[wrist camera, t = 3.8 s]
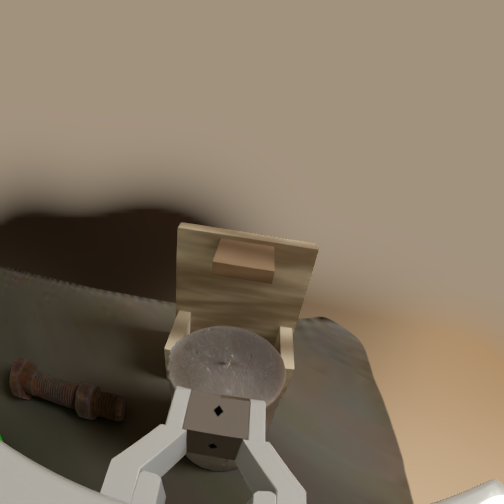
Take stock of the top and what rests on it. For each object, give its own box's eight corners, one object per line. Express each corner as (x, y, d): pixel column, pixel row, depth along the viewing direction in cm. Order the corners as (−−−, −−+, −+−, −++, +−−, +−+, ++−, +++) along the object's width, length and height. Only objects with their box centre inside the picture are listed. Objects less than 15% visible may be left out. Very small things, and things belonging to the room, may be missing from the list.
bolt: (127, 428, 28) (27, 397, 26) (131, 390, 31) (32, 363, 29) (115, 431, 24) (5, 392, 22) (120, 386, 26) (11, 353, 24)
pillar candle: (265, 411, 33) (293, 325, 26) (254, 480, 24) (287, 418, 17) (188, 395, 33) (187, 304, 26) (165, 459, 25) (145, 385, 18)
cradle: (285, 397, 35) (329, 286, 27) (163, 378, 35) (156, 259, 26) (284, 350, 43) (316, 243, 34) (179, 333, 42) (181, 222, 34)
